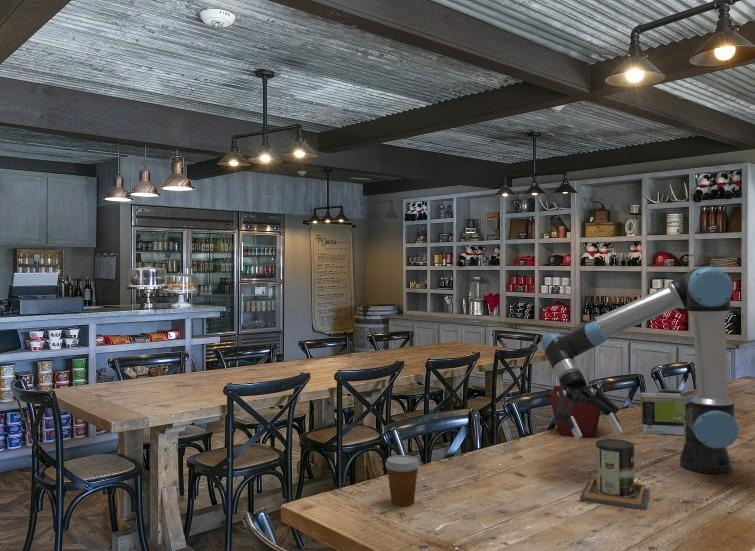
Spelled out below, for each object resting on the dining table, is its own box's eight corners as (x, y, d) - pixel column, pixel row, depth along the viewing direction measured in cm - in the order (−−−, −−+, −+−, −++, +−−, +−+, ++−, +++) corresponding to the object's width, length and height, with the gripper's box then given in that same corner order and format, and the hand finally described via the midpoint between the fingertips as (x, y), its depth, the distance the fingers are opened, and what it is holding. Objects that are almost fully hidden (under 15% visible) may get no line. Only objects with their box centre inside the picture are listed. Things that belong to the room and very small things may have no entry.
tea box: (681, 430, 261) (681, 393, 261) (684, 436, 252) (684, 397, 252) (641, 427, 266) (640, 391, 266) (642, 433, 257) (641, 395, 257)
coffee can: (631, 488, 189) (630, 439, 189) (638, 500, 179) (637, 448, 179) (594, 486, 192) (593, 437, 191) (598, 497, 181) (598, 447, 181)
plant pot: (550, 436, 253) (549, 393, 253) (554, 425, 271) (554, 385, 271) (602, 440, 247) (602, 396, 246) (603, 429, 264) (603, 387, 264)
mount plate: (649, 492, 188) (649, 484, 188) (645, 509, 175) (645, 501, 175) (588, 484, 196) (588, 477, 196) (580, 500, 182) (580, 492, 182)
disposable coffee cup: (409, 510, 176) (408, 466, 176) (379, 504, 181) (378, 461, 181) (425, 500, 184) (425, 457, 184) (396, 494, 189) (396, 452, 189)
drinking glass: (687, 421, 275) (687, 393, 275) (663, 422, 276) (663, 393, 275) (676, 416, 286) (676, 389, 285) (653, 416, 286) (653, 389, 286)
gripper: (599, 381, 212) (630, 438, 198) (530, 386, 205) (557, 446, 191) (609, 367, 207) (641, 425, 192) (538, 372, 200) (567, 432, 185)
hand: (599, 436), depth 191 cm, fingers open, 13 cm apart
